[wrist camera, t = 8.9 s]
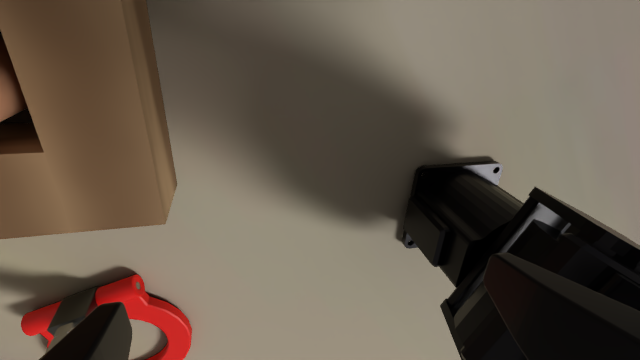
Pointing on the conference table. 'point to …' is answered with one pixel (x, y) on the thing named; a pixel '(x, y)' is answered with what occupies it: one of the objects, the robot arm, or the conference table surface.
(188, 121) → the conference table surface
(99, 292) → the tow hook
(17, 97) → the peg
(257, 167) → the conference table surface
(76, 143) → the socket block
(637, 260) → the robot arm
